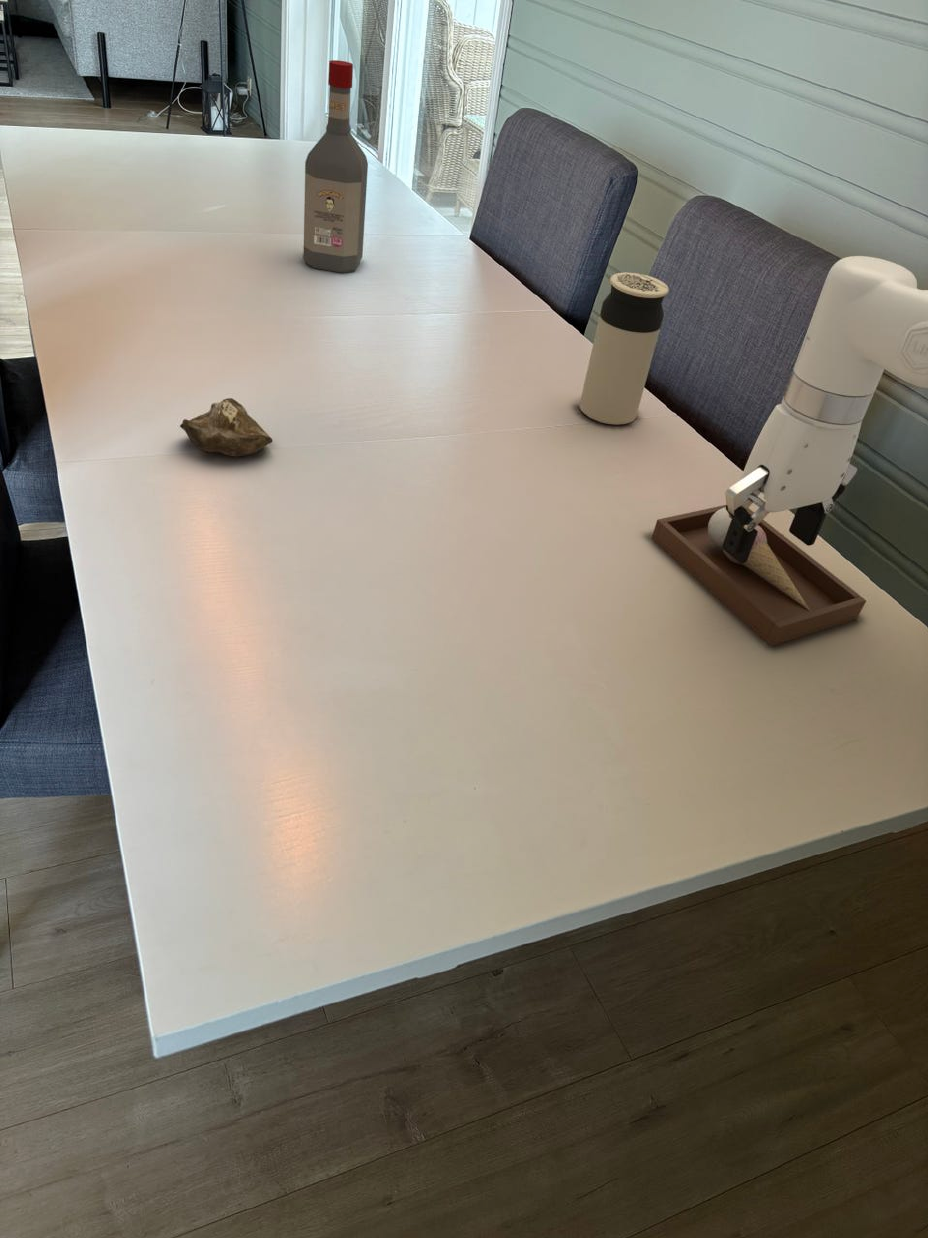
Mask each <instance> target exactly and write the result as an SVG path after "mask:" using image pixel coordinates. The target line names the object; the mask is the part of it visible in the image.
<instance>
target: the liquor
mask: <svg viewBox="0 0 928 1238" xmlns="http://www.w3.org/2000/svg"><path fill="white" fill-rule="evenodd" d="M353 73H354V64H353V63H352V62H349V61H346V60H337V59H336V60H335V59H332V60H329V61H328V80H327V81H328V84H327V85H328V86H329V89H328V91H329V94H328V115H327V125H326V127H325V132H324V134H323V135H322V136H321V138H320V139H319V140H318V141H317V142H316V143H315V145H314V146H313V147H312V148H311V150H310V151H309V152H308V153H307V156H306V158H305V163H304V207H303V208H304V209H303V210H304V211H303V254H302V255H303V258H302V259H303V260H304V262H305V264H306V265H308V266H310V267H311V268H313V269H317V270H323V271H327V272H333V273H340V274H343V273H344V274H345V273H351V272H355V271H356V269H357V267H358V266H359V264H360V262H361V260H362V259H363V253H364V252H363V251H364V238H365V237H364V235H365V218H366V204H367V188H368V169H369V162H368V158H367V155H366V154H365V152H364V150H362V148H361V146H360V144H359V143H358V142H357V140H356V139H355V137H354V136H353V135H352V133H351V130H352V128H351V124H350V113H351V112H350V111H351V89H353V75H354V74H353Z"/></svg>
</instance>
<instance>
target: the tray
mask: <svg viewBox="0 0 928 1238" xmlns="http://www.w3.org/2000/svg"><path fill="white" fill-rule="evenodd" d="M726 505H727V504H723V505H718V506H713V507H709V508H704V509H700V510H696V511H689V512H687V513H681V514H676V515H672V516H667V517H663V518H659V519H656V523H655V526H654V529H653V532H652V535H651V539H652V540H653V541H654V542H655V543H656V544H658V545H659V546H660V547H661V548H662V549H663V550H664V551H665V552H666V553H668V555H670V556H671V557H672V558H673V559H674V560H675V561H677V562H678V564H680V565H681V566H682V567H683V568H684V569H685V570H686V571H688V573H690V574H691V575H692V576H693V577H694V578H695V579H696V580H697V581H698V582H700V583H701V585H703V586H704V587H705V588H706V589H707V590H708V591H709V592H711V593H712V594H713V595H714V596H715V597H716V598H717V599H718V600H720V602H721V603H722V604H724V605H725V606H726V607H727V608H728V609H729V610H730V611H731V612H732V613H733V614H734V615H736V616H737V617H738V618H739V619H740V620H741V621H742V622H743V623H745V624H746V625H747V626H748V627H749V628H750V629H751V630H752V631H753V632H755V633H756V634H757V635H758V636H759V637H760V639H762V640H763V641H765V642H766V643H767V645H769V646H770V647H773V646H777V645H779V644H783V643H786V642H789V641H792V640H795V639H798V638H801V637H804V636H808V635H811V634H814V633H817V632H821V631H824V630H826V629H827V630H828V629H829V628H832V627H836V626H839V625H843V624H845V623H848V622H849V623H850V622H851V621H855V620H857V619H858V618H859V616H860V614H861V612H862V610H863V608H864V607H865V605H866V602H867V600H866V599H865V598H864V597H863V596H861V595H860V594H859V593H858V592H857V591H855V590H853V589H852V588H851V587H850V586H848V585H847V584H846V583H845V582H844V581H842V580H841V579H840V578H839V577H837V576H836V575H835V574H834V573H832V572H831V571H830V570H828V569H827V568H826V567H824V566H823V565H822V564H821V563H819V562H818V561H816V560H815V559H814V558H813V557H812V556H810V555H809V554H808V553H807V552H806V551H804V550H803V549H801V547H799V546H798V545H797V544H796V543H794V542H792V541H791V540H790V539H789V538H787V537H786V536H785V535H784V534H782V533H781V532H780V531H779V530H777V529H776V528H775V527H774V526H772V525H771V524H770V523H768V521H765V520H764V519H763V520H762V521H761V522H760V523H759V524H758V526H759V527H761V528H762V530H763V531H764V532H765V535H766V538H767V544H768V546H769V547H770V549H771V550H772V552H773V553H774V555H775V556H776V558H777V560H778V561H779V563H780V564H781V566H782V567H783V569H784V570H785V572H786V574H787V575H788V577H789V578H790V580H791V581H792V583H793V584H794V586H795V588H796V589H797V591H798V592H799V594H800V595H801V597H802V598H803V600H804V601H805V603H806V605H807V606H808V608H809V609H810V611H809V610H808V609H807V608H805V607H804V606H802V605H801V604H799V603H798V602H796V601H795V600H794V599H792V598H791V597H789V596H788V595H786V594H785V593H783V592H782V591H781V590H779V589H778V588H776V587H775V586H773V585H772V584H770V583H769V582H768V581H766V580H765V579H763V578H762V577H760V576H759V575H757V574H756V573H755V572H753V571H752V570H750V569H749V568H747V567H746V566H744V565H742V564H737V563H734V562H732V561H731V560H730V559H728V558H727V556H726V555H725V554H724V552H723V549H722V548H720V547H718V546H716V545H715V544H714V543H713V542H712V540H711V539H710V537H709V533H708V524H709V521H710V519H711V517H712V516H713V514H715V513H716V512H717V511H718V510H720V509H722V508H725V507H726ZM747 512H748V513H749V515H750V517H751V516H752V515H753V514H754V513H755V511H753V510H752V509H750V507H749V508H748V509H747Z"/></svg>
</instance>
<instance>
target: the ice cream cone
mask: <svg viewBox="0 0 928 1238" xmlns="http://www.w3.org/2000/svg"><path fill="white" fill-rule="evenodd" d="M731 520H732V519H731V518H730V517H729V513H728V512H727V510H726V507H725V508H722V509H720V510H718V511H717V512H716V513H715V514H713V516H712V517H711V519H710V521H709V524H708V533H709V537H710V539H711V540H712V542H713V543H714V544H715V545H716V546H718V547H720V548H722V545H723V542H724V539H725V537H726V534H727V531H728V528H729V525H730V523H731ZM754 529H756V530H757V531H758V533H757V536H756V539H755V541H754V544H753V547H752V549H751V552H750V555H749V557H748V560H747V562H745V563H739V562H738V561H737V560H735V559H734V558H733V557H732V556H731V555H729V554H728V553H727V552H726V551H724V550H723V552H724V554H725V555H726V556H727V558H728V559H730V560H731V561H732V562H734V563H737V564H742V565H744V566H746V567H747V568H749V569H750V570H752V571H753V572H755V573H756V574H757V575H759V576H760V577H762V578H763V579H765V580H766V581H768V582H769V583H770V584H772V585H773V586H775V587H776V588H778V589H779V590H781V591H782V592H783V593H785V594H786V595H788V596H789V597H791V598H792V599H794V600H795V601H796V602H798V603H799V604H801V605H802V606H804V607H805V608H807V609H808V610H809V611H810V609H809V608H808V606H807V605H806V603H805V601H804V600H803V598H802V597H801V595H800V594H799V592H798V591H797V589H796V588H795V586H794V584H793V583H792V581H791V580H790V578H789V577H788V575H787V574H786V572H785V570H784V569H783V567H782V566H781V564H780V563H779V561H778V560H777V558H776V556H775V555H774V553H773V552H772V550H771V549H770V547H769V546H768V544H767V538H766V535H765V532H764V531H763V530H762V528H761V527H759V526H758V525H757V526H756V527H755V528H754ZM722 549H723V548H722Z"/></svg>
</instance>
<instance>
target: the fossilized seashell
mask: <svg viewBox="0 0 928 1238" xmlns="http://www.w3.org/2000/svg"><path fill="white" fill-rule="evenodd" d="M179 427H180V429H182V430H183V431H184V432H185V434H186V436H187V437H188V439H189V441H190V442H191V443H192V444H193V445H194V446H195V447H196V448H197V449H200V450H202V451H205V452H207V453H220V454H221V453H222V454H224V455H225V456H231V457H234V458H235V457H237V458H238V457H245V456H249V455H251V454H254V453H257V452H258V451H260V450H262V449H263V448H264V447H266V446H268V445H270V444H272V443H273V438H272V437H271V436H270V435H269V434H268V432H267V431H265V430H264V429H263V428H262V427H261V425H260V424H259V423H258V422H257V421H256V420H255V419H254V418H253V417H251V416H250V415H249V414H248V412H247V409H245V407H244V406H243V404H242V403H239V402H238V401H237V400H235V399H234V398H233V397H231V398H230V397H227V398H224V399H222V401H219V402H213V403H211V405H210V409H209V410H208V411H207V412H205V413H203V414H200V415H198V416H196V417H194V418H191V419H190V420H189V419H186V418H183V420H182V423H181V424H179Z"/></svg>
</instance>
